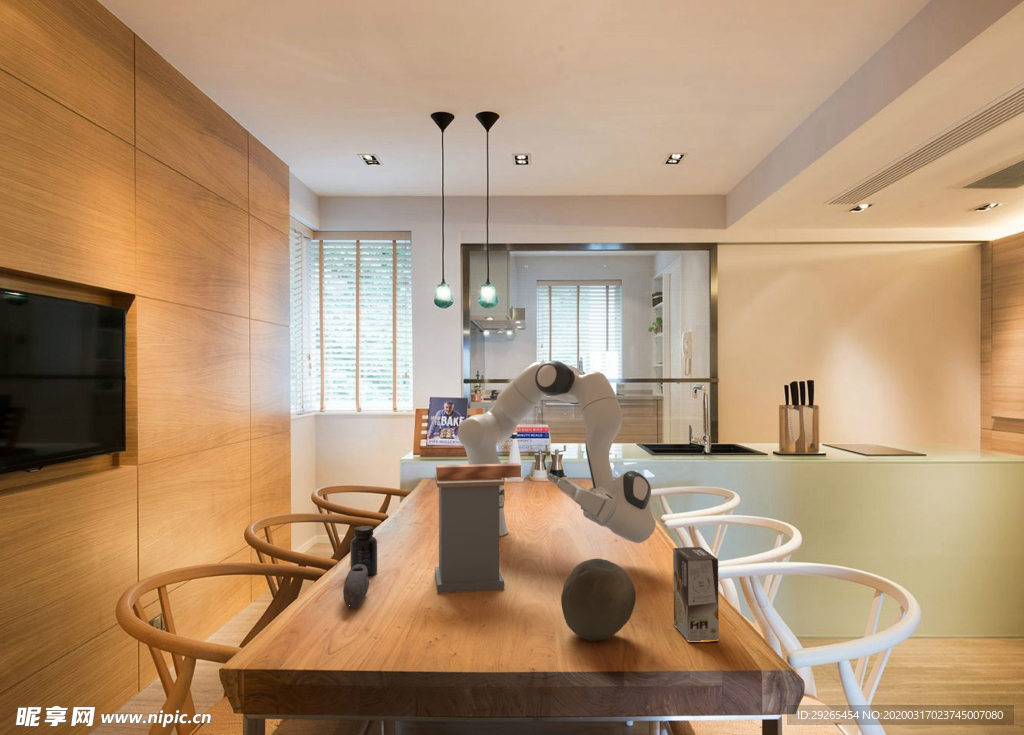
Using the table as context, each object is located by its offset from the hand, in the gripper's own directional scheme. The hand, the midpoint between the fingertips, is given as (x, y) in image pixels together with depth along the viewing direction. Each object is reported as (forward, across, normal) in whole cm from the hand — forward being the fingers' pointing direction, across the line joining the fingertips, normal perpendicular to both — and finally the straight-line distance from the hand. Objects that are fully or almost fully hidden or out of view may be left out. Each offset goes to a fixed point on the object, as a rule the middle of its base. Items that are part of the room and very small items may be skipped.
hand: (552, 479), depth 160 cm
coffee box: (-30, +39, +12) cm, 50 cm away
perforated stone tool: (+29, +10, +46) cm, 56 cm away
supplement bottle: (+29, -10, +46) cm, 55 cm away
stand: (+6, 0, +32) cm, 33 cm away
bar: (+17, 0, +9) cm, 19 cm away
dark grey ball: (-13, +38, +22) cm, 45 cm away
